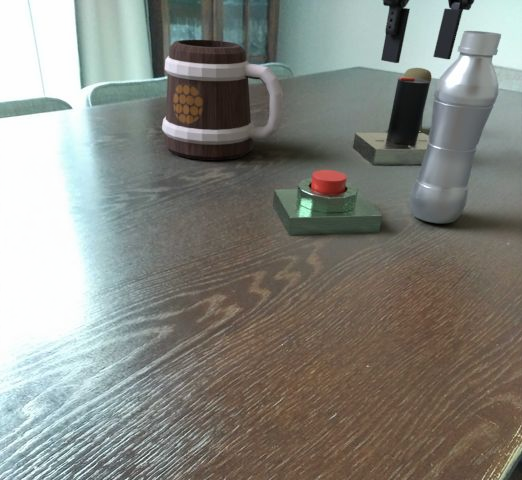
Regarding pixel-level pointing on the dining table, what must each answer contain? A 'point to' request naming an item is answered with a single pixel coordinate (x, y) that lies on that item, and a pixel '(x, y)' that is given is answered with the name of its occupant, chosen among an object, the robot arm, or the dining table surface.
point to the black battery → (407, 110)
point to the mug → (214, 100)
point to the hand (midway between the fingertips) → (417, 60)
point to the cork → (419, 74)
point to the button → (328, 182)
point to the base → (390, 149)
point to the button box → (325, 211)
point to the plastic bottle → (456, 129)
